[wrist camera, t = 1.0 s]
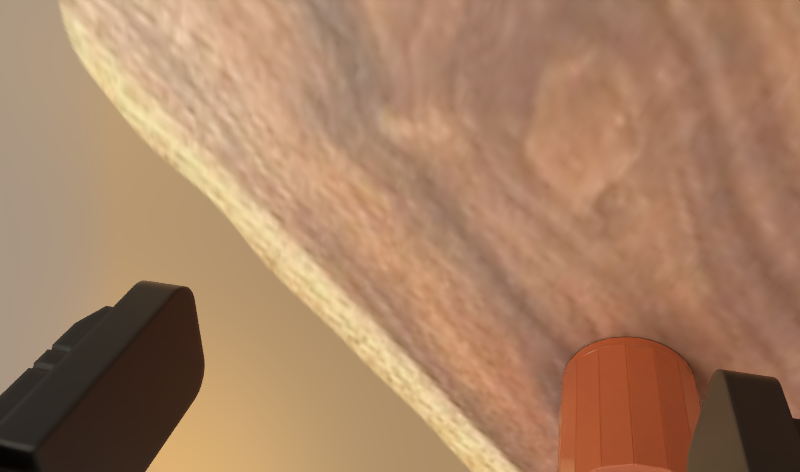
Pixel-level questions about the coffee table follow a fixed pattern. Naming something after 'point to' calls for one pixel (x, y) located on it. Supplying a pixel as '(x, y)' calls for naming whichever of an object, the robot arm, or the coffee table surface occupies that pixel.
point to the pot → (626, 408)
